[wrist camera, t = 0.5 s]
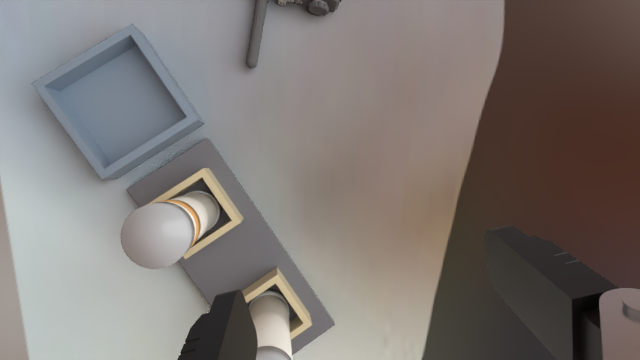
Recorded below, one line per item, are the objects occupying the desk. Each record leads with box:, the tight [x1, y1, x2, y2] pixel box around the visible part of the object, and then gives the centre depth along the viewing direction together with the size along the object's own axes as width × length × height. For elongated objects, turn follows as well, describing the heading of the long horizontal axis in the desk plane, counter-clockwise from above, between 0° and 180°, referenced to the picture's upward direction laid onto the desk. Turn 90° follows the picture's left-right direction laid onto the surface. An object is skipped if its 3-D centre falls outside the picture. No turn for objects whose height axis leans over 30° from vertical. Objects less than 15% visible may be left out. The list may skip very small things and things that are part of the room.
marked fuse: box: [121, 190, 221, 269], centre depth 28 cm, size 4×4×13 cm
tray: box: [31, 24, 205, 180], centre depth 33 cm, size 10×10×3 cm
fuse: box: [249, 288, 292, 360], centre depth 29 cm, size 4×4×13 cm
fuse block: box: [126, 138, 335, 355], centre depth 34 cm, size 23×9×4 cm, turn 33°
